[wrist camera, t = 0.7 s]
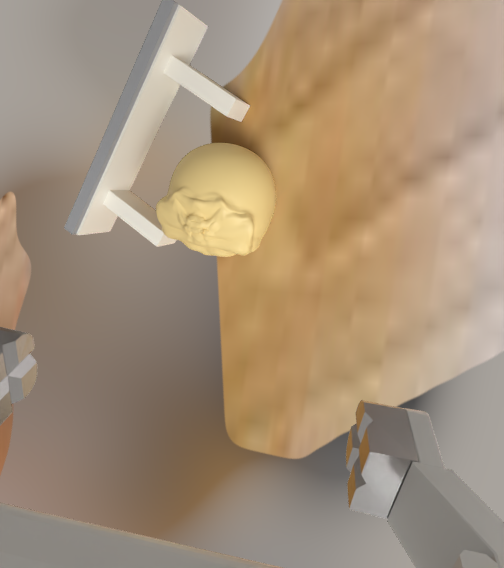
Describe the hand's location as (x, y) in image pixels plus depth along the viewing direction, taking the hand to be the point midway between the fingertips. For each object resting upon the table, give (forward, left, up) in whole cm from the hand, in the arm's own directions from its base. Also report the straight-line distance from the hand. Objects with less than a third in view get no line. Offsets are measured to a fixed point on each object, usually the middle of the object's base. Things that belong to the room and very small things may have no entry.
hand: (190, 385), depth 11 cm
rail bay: (+5, -25, -40) cm, 47 cm away
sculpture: (+5, -15, -40) cm, 43 cm away
